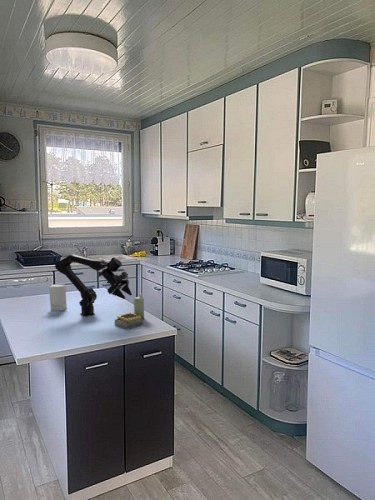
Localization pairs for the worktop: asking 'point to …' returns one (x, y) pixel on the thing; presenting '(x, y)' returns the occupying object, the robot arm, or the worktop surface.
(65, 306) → the skincare box
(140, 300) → the green and white bottle
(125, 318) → the grey and tan tray
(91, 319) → the worktop surface
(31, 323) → the worktop surface
